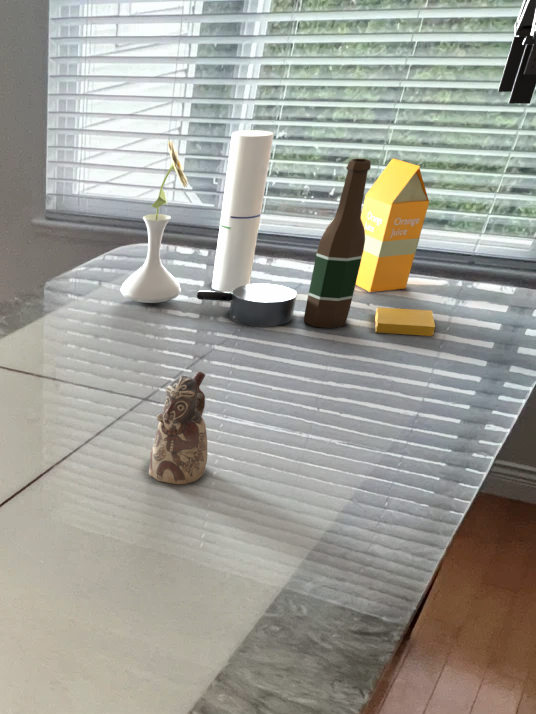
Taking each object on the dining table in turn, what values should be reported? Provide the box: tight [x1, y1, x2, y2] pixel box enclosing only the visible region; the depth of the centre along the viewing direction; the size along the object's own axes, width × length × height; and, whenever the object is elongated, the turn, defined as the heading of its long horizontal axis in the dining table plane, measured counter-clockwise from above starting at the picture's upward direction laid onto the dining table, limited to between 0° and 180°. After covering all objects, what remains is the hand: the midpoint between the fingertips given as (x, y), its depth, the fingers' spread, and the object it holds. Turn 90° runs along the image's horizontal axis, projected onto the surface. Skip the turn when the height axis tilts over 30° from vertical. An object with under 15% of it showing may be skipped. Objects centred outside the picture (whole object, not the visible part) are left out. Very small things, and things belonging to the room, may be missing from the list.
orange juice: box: [355, 158, 430, 293], centre depth 157 cm, size 8×9×20 cm
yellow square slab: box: [374, 306, 436, 337], centre depth 145 cm, size 9×9×2 cm
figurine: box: [148, 370, 208, 485], centre depth 103 cm, size 7×7×12 cm
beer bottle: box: [303, 158, 372, 329], centre depth 140 cm, size 8×8×24 cm
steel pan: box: [196, 283, 298, 328], centre depth 150 cm, size 17×11×4 cm, turn 72°
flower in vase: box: [119, 139, 189, 304], centre depth 153 cm, size 13×11×25 cm
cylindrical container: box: [211, 129, 275, 293], centre depth 156 cm, size 7×7×25 cm
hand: (512, 97), depth 124 cm, fingers open, 13 cm apart
